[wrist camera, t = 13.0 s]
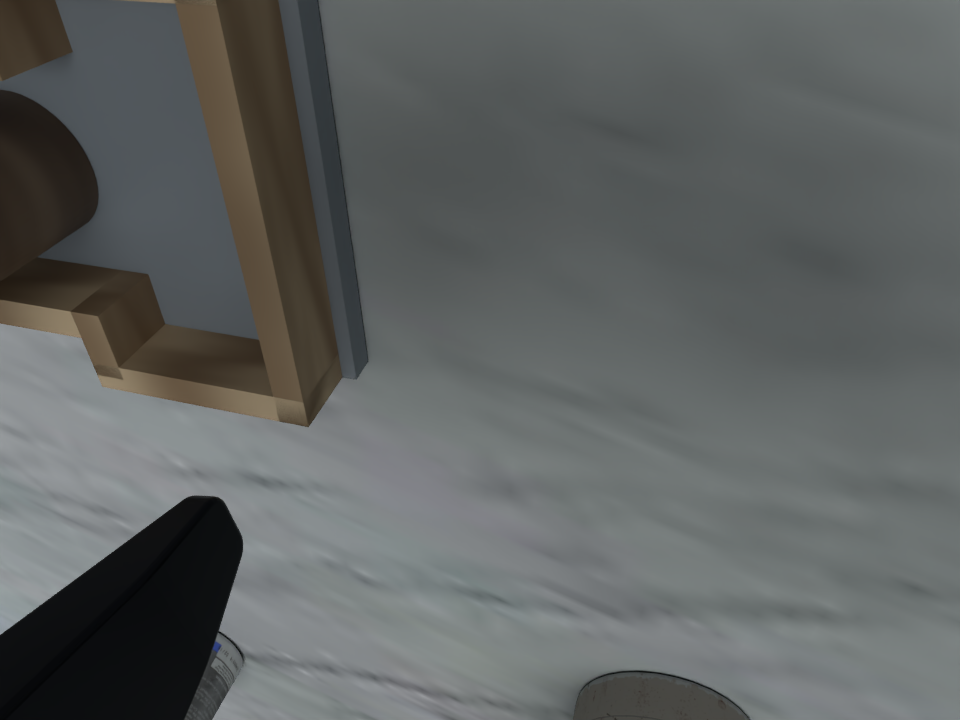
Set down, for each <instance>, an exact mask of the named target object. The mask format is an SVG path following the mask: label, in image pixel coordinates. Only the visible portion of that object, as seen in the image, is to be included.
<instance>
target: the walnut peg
mask: <svg viewBox="0 0 960 720" xmlns="http://www.w3.org/2000/svg"><path fill="white" fill-rule="evenodd" d="M97 205H98V187H97V182H96V178H95V174H94V171H93V169H92V166H91V164H90V161H89V160H88V158H87V156H86V154H85V152H84V150H83V149H82V147H81V146H80V144H79V143H78V141H77V140H76V139H75V137H74V136H73V135H72V133H71V132H70V131H69V130H68V129H67V128H66V126H65V125H64V124H63V123H62V122H61V121H60V120H59V119H58V118H56V117H55V116H54V115H53V114H52V113H51V112H49V111H48V110H47V109H45V108H44V107H43V106H41V105H40V104H38V103H37V102H35V101H33V100H31V99H29V98H27V97H25V96H23V95H21V94H18V93H15V92H11V91H6V90H0V281H2V280H3V279H5V278H6V277H8V276H9V275H11V274H12V273H14V272H15V271H17V270H18V269H20V268H21V267H23V266H24V265H26V264H27V263H29V262H30V261H32V260H33V259H35V258H36V257H38V256H39V255H41V254H42V253H44V252H45V251H47V250H48V249H50V248H51V247H53V246H54V245H56V244H57V243H59V242H60V241H62V240H63V239H64V238H66V237H67V236H69V235H70V234H72V233H73V232H75V231H76V230H78V229H79V228H81V227H82V226H84V225H85V224H86V223H88V222H89V221H90V220H91V218H92V217H93V216H94V214H95V212H96V208H97Z"/></svg>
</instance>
